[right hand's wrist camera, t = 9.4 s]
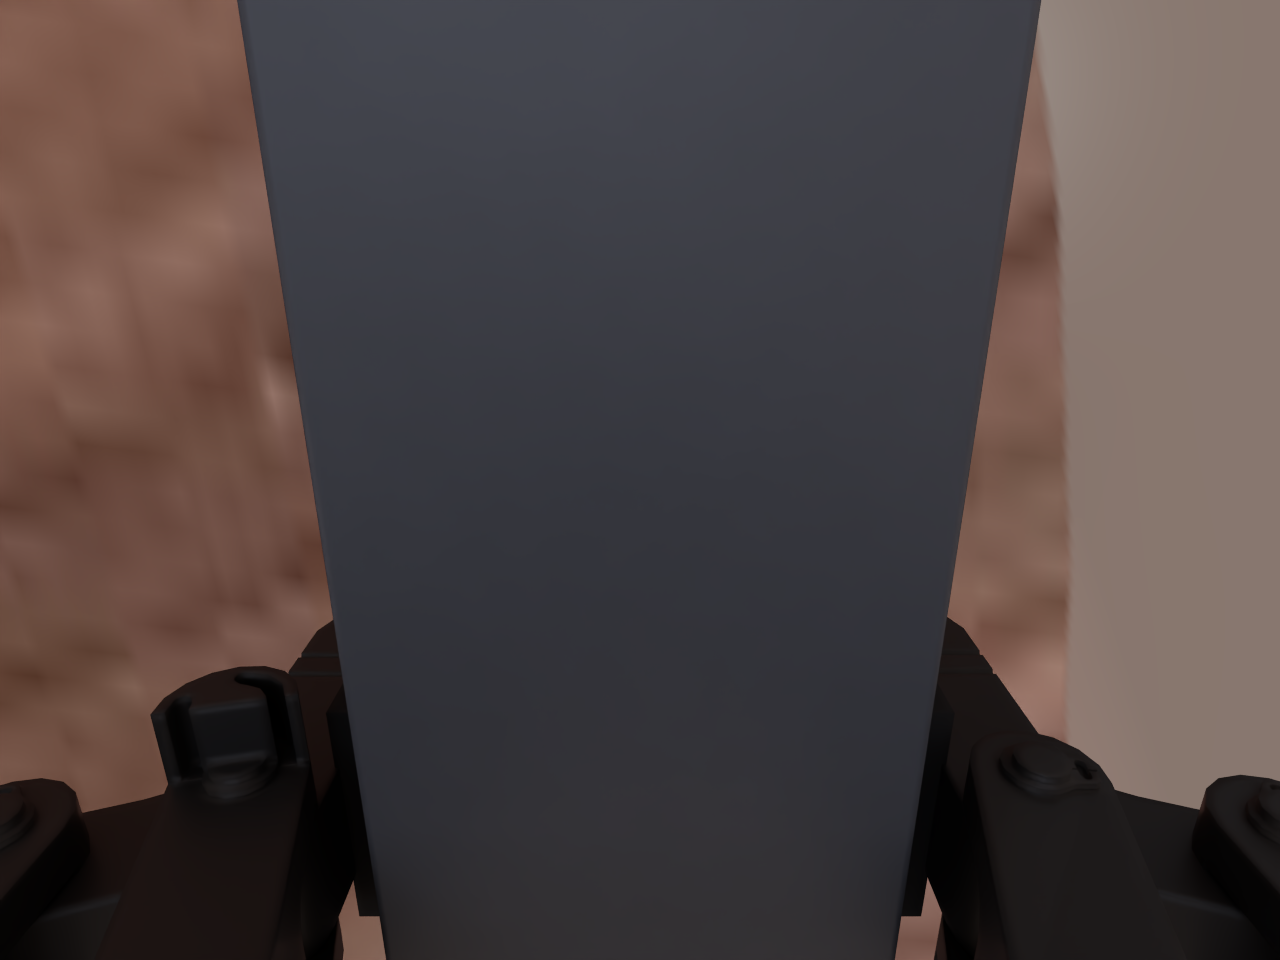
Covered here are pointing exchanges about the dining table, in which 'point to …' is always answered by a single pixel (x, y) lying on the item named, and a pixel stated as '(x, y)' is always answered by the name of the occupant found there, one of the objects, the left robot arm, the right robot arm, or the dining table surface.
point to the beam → (639, 443)
